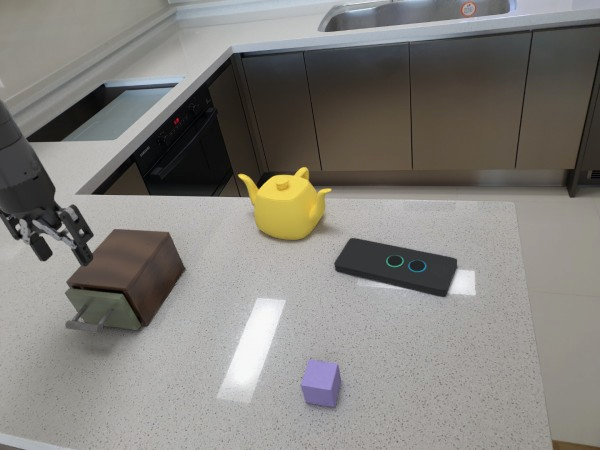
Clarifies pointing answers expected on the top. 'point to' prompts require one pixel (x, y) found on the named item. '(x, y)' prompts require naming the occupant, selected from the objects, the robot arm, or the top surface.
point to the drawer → (101, 310)
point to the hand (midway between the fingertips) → (67, 260)
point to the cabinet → (134, 269)
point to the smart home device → (397, 266)
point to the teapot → (287, 205)
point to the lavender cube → (321, 383)
